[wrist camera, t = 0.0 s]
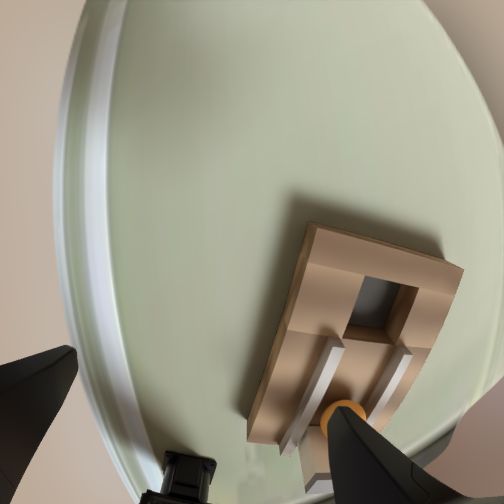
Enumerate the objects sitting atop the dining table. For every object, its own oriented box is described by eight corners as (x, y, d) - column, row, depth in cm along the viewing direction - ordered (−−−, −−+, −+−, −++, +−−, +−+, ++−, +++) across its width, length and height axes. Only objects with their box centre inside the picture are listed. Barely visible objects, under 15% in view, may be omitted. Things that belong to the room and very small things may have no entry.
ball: (348, 421, 23) (359, 451, 19) (310, 420, 23) (317, 451, 19) (365, 391, 22) (380, 421, 19) (326, 389, 22) (336, 421, 18)
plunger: (339, 442, 24) (354, 490, 17) (297, 441, 23) (305, 493, 17) (349, 427, 23) (367, 477, 17) (306, 425, 23) (317, 480, 17)
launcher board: (364, 428, 28) (375, 455, 23) (246, 420, 27) (246, 452, 22) (445, 260, 23) (474, 274, 18) (308, 221, 22) (322, 231, 17)
